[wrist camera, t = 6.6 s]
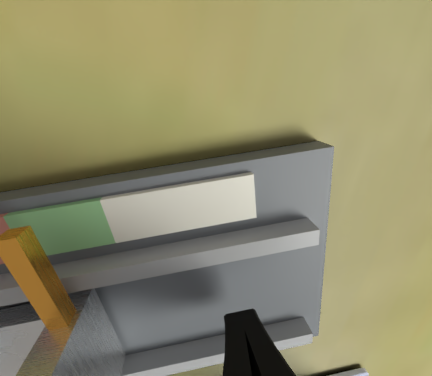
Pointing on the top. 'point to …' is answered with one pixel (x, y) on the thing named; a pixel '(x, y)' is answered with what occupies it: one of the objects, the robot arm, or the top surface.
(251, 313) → the robot arm
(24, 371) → the gauge pointer slider
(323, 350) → the top surface
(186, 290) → the gauge base
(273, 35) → the top surface
